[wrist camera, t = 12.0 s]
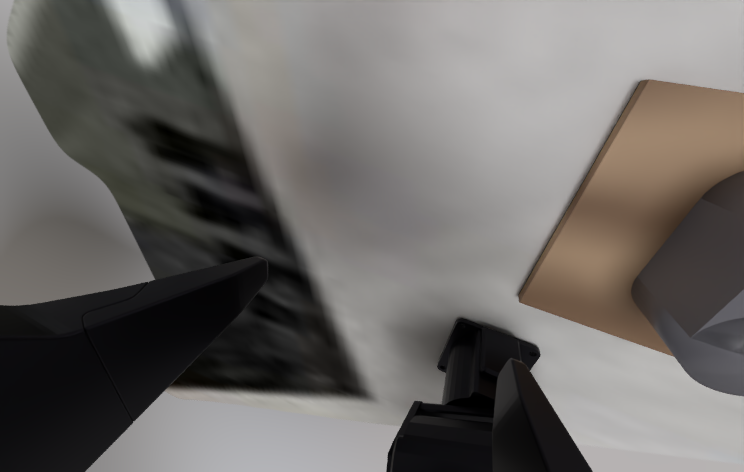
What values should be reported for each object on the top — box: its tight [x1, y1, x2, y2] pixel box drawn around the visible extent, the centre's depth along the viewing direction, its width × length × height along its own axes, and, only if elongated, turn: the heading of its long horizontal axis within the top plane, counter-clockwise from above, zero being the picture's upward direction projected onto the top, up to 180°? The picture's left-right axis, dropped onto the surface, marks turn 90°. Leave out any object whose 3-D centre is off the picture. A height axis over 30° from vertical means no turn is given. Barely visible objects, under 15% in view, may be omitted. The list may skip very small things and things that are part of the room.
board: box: [518, 80, 744, 357], centre depth 15 cm, size 14×14×1 cm
